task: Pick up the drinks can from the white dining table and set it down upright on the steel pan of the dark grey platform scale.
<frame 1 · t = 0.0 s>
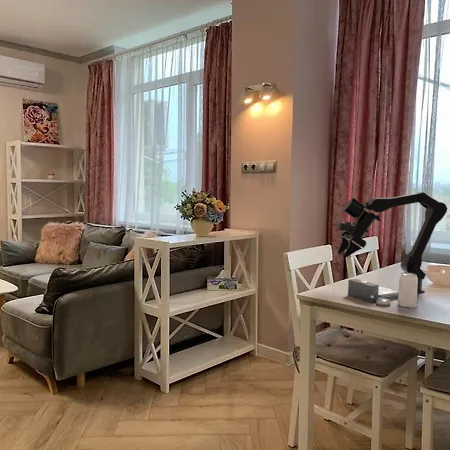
hand: (341, 255, 195), 15 cm above the table, tool tilted 35°, fingers open, 9 cm apart
spacer: (383, 305, 176), on the table
can: (406, 306, 175), on the table
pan: (379, 291, 188), point 2 cm above the table, slide at -0.4 cm
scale: (374, 296, 187), on the table
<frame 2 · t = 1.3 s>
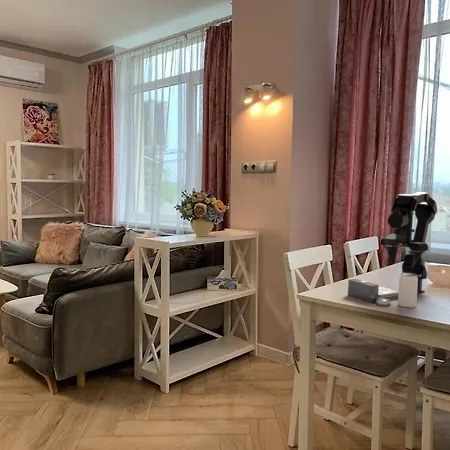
hand: (402, 265, 184), 13 cm above the table, tool pointing down, fingers open, 9 cm apart
nothing on the table moved.
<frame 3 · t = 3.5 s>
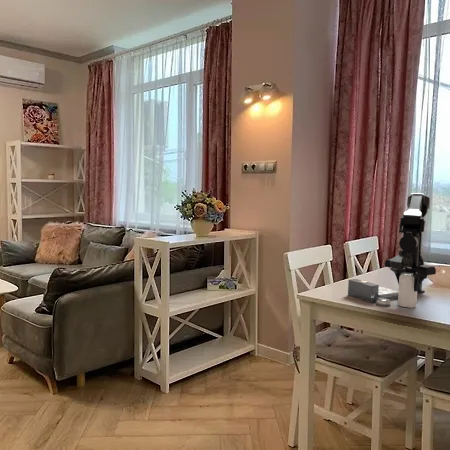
hand: (407, 289, 174), 6 cm above the table, tool pointing down, fingers closed on can, 6 cm apart
can: (406, 306, 175), on the table, touching gripper
everything else where it was.
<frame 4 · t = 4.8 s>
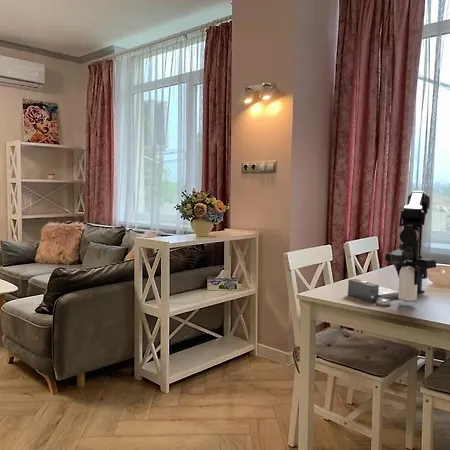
hand: (408, 282, 174), 9 cm above the table, tool pointing down, fingers closed on can, 6 cm apart
can: (407, 299, 174), point 2 cm above the table, touching gripper
everything else where it was.
when the fingers open (13 cm above the table, at t = 6.4 s): can drops 4 cm, resting on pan.
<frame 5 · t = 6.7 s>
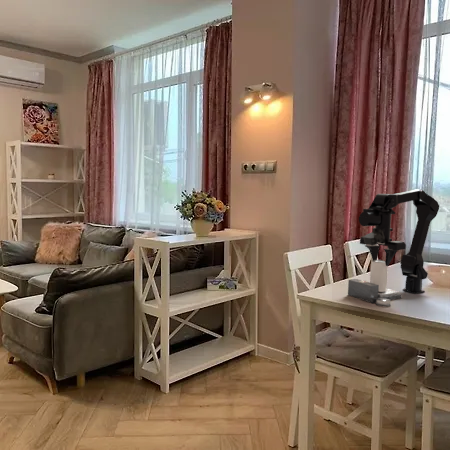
hand: (380, 264, 187), 13 cm above the table, tool pointing down, fingers open, 6 cm apart
can: (377, 291, 187), point 2 cm above the table, touching gripper, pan
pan: (379, 291, 188), point 2 cm above the table, slide at -0.5 cm, touching can
everything else where it was.
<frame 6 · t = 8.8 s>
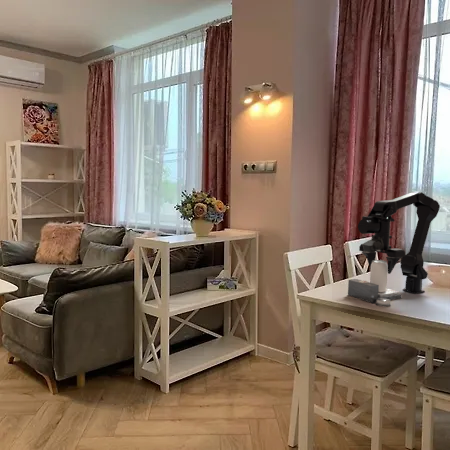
hand: (380, 271, 187), 10 cm above the table, tool pointing down, fingers open, 9 cm apart
can: (377, 291, 187), point 2 cm above the table, touching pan
everything else where it was.
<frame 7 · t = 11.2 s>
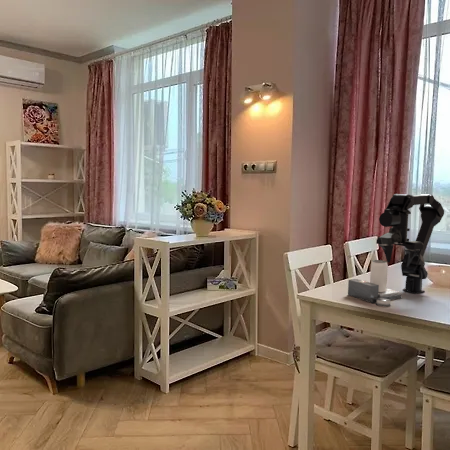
hand: (397, 264, 188), 13 cm above the table, tool pointing down, fingers open, 9 cm apart
nothing on the table moved.
at the end: can inside the target area on the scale (1.0 cm from its centre), point 2.1 cm above the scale's base; can tilted 0°; the gripper is holding nothing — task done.
